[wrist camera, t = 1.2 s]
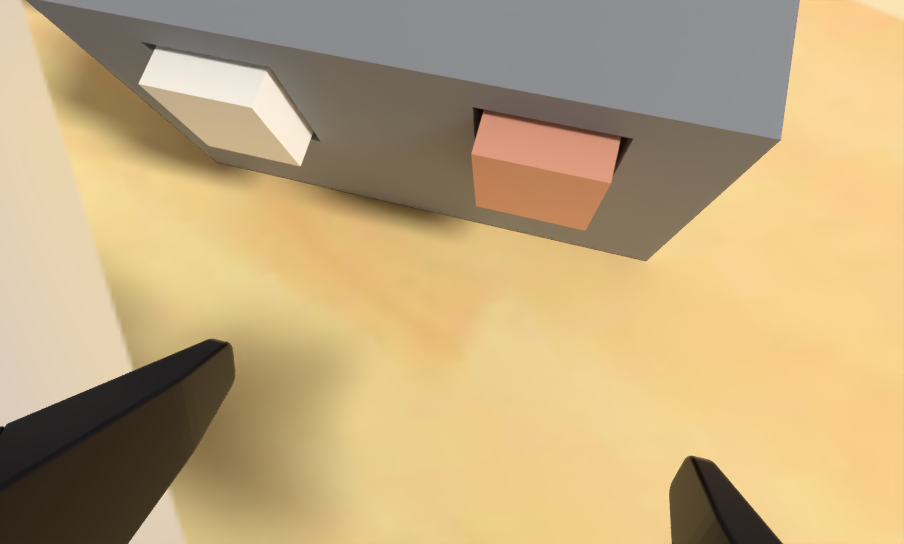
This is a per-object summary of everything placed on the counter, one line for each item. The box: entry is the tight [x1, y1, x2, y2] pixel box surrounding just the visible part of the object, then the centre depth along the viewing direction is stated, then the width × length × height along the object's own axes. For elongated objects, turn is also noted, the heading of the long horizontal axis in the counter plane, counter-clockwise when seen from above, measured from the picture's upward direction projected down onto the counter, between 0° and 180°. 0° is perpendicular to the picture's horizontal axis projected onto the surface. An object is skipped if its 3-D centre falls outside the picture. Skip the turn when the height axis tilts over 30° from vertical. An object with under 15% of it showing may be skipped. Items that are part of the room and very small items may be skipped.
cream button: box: [139, 45, 313, 167], centre depth 18 cm, size 2×4×4 cm, turn 75°
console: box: [26, 0, 800, 261], centre depth 19 cm, size 5×22×11 cm, turn 75°
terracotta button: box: [471, 109, 621, 231], centre depth 16 cm, size 2×4×4 cm, turn 75°
